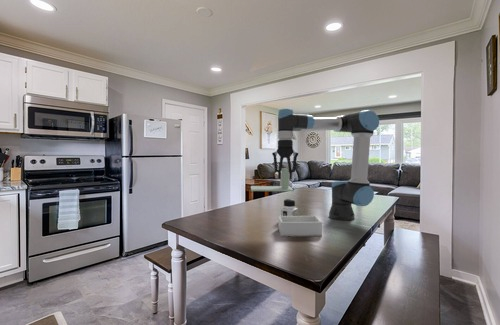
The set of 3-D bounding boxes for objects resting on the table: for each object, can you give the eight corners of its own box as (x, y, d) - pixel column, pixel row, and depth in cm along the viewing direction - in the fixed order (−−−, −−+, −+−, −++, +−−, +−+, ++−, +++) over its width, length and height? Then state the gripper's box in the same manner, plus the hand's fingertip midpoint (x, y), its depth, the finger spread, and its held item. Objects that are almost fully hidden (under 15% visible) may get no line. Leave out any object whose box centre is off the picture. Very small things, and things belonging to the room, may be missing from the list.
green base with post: (289, 187, 132) (289, 167, 132) (293, 191, 119) (294, 169, 119) (250, 187, 132) (250, 167, 132) (250, 191, 119) (251, 169, 119)
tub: (315, 228, 131) (315, 215, 131) (322, 236, 119) (322, 222, 119) (278, 228, 132) (278, 216, 131) (281, 236, 120) (281, 222, 119)
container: (292, 223, 141) (292, 201, 140) (280, 221, 146) (280, 199, 145) (298, 220, 147) (298, 199, 147) (286, 218, 152) (286, 198, 151)
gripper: (299, 140, 128) (298, 184, 129) (269, 140, 128) (268, 184, 129) (302, 139, 121) (301, 186, 122) (270, 139, 121) (269, 186, 122)
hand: (284, 185), depth 125 cm, fingers closed on green base with post, 3 cm apart
